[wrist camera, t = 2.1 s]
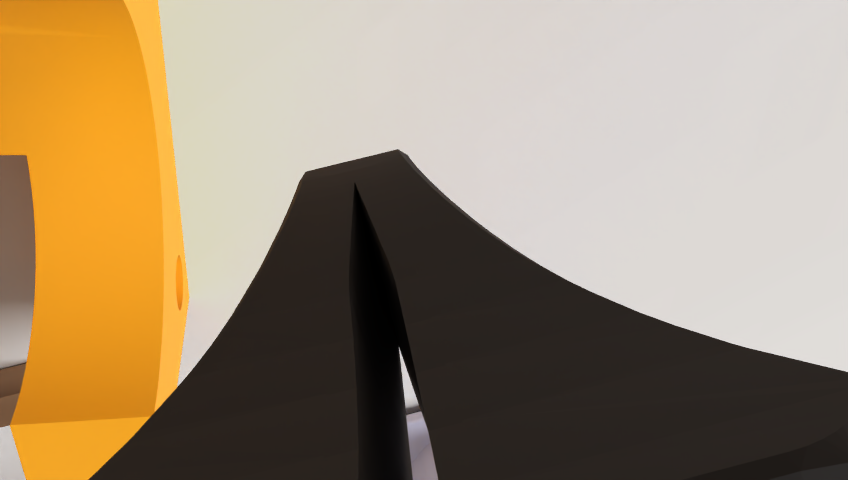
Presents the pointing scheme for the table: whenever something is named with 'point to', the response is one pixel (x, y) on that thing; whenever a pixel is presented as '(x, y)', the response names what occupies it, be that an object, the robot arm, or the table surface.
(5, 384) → the bay
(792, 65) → the table surface
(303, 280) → the robot arm
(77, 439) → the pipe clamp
